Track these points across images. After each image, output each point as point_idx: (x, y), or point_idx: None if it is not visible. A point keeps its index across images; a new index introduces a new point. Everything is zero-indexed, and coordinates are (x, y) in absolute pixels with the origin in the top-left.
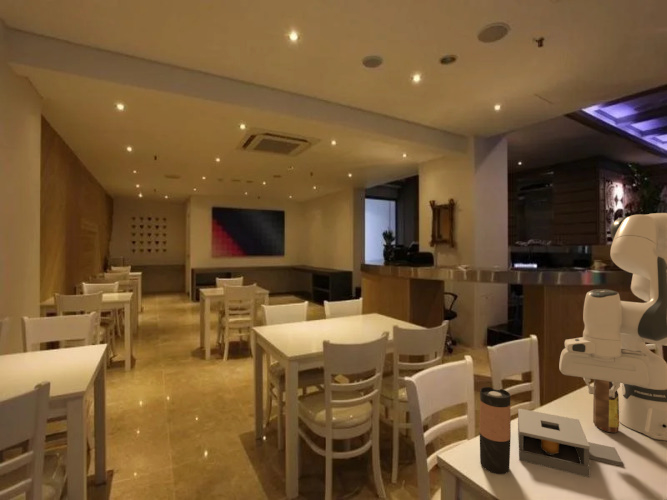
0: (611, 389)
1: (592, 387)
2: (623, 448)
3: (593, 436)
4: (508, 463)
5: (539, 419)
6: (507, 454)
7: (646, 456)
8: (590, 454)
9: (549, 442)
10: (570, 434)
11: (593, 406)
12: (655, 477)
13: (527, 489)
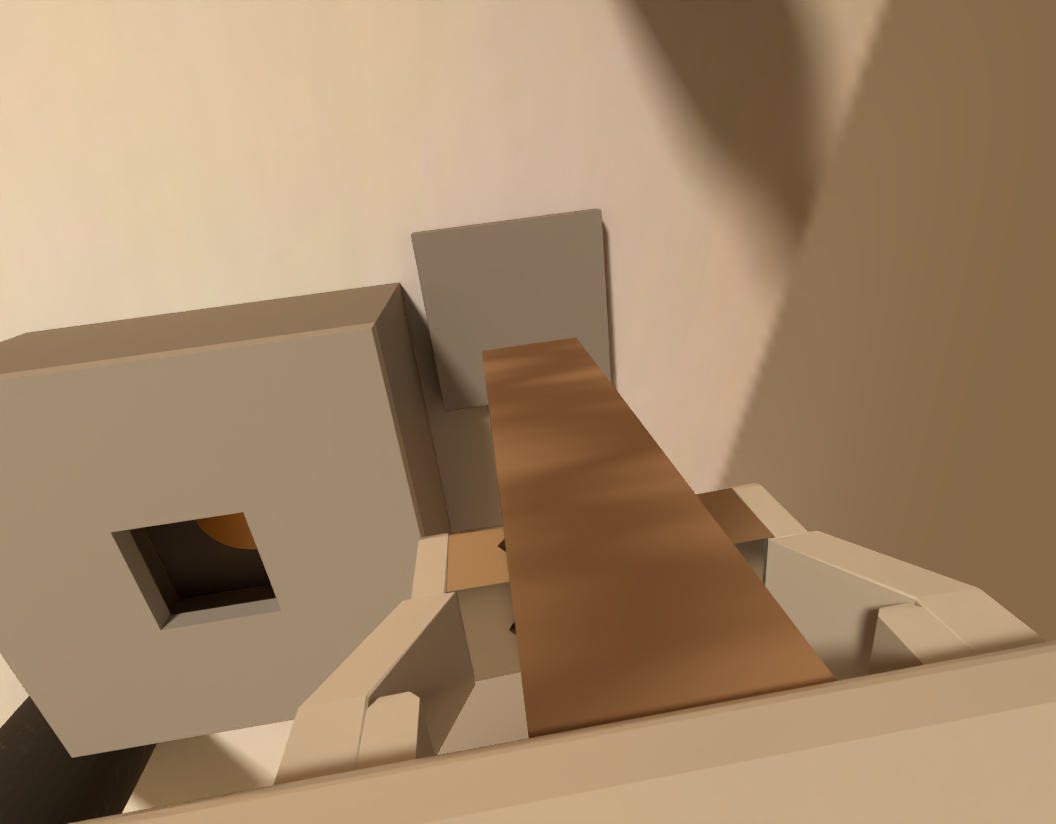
0: (778, 585)
1: (484, 638)
2: (653, 126)
3: (484, 28)
4: (148, 754)
5: (98, 525)
6: (121, 813)
7: (759, 165)
8: (463, 400)
9: (248, 535)
10: (346, 621)
11: (489, 406)
12: (727, 398)
13: (266, 759)
